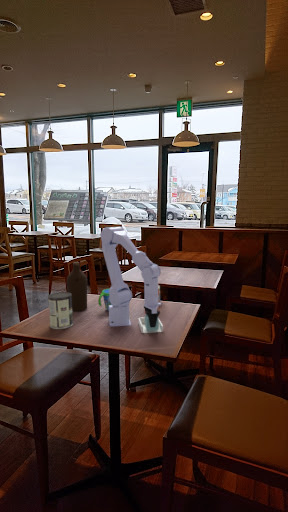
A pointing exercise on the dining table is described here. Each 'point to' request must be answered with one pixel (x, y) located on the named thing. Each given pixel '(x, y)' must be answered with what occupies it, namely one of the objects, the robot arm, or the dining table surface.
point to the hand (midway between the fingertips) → (151, 324)
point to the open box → (143, 329)
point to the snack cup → (105, 298)
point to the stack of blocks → (158, 297)
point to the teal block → (149, 324)
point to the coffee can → (60, 310)
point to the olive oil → (77, 288)
